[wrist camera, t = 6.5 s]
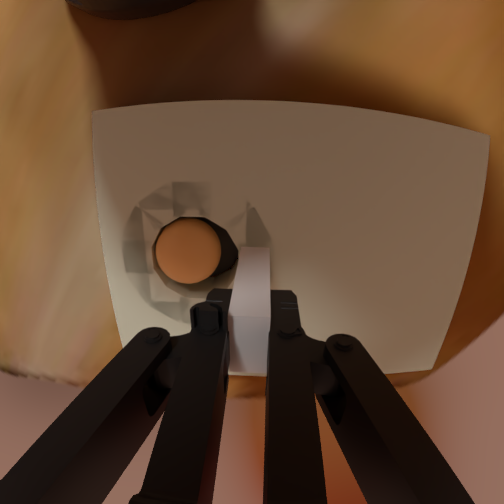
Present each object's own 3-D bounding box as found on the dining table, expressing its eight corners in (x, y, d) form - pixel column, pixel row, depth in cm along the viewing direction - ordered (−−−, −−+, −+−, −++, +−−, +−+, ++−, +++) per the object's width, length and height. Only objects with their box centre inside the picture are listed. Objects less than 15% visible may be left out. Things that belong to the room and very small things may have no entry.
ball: (159, 214, 21) (149, 222, 17) (219, 214, 21) (222, 221, 17) (161, 273, 21) (152, 293, 18) (219, 273, 22) (222, 292, 18)
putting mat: (113, 111, 18) (92, 111, 15) (465, 132, 18) (490, 135, 15) (139, 340, 25) (127, 363, 22) (419, 347, 24) (431, 369, 22)
